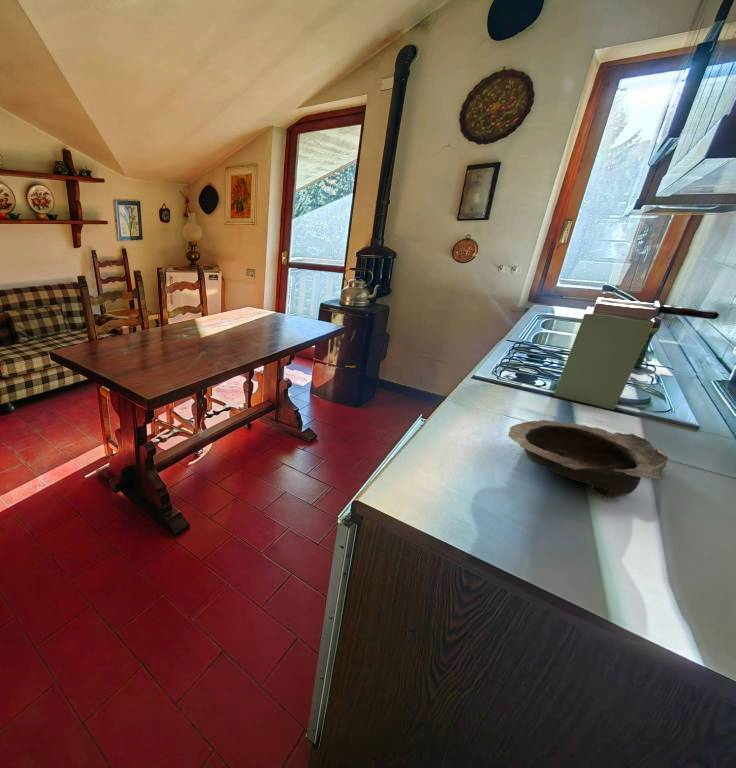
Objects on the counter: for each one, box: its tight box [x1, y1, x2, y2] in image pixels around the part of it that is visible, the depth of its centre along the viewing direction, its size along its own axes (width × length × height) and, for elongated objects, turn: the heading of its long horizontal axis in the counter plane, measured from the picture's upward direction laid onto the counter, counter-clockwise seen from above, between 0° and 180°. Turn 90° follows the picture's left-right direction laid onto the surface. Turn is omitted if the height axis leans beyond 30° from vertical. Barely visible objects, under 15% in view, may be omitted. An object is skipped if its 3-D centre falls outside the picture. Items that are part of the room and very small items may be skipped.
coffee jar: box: [634, 316, 662, 368], centre depth 145 cm, size 10×8×19 cm
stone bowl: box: [507, 419, 669, 498], centre depth 83 cm, size 25×25×9 cm
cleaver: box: [593, 297, 720, 320], centre depth 105 cm, size 23×10×4 cm, turn 46°
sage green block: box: [552, 306, 655, 411], centre depth 115 cm, size 14×12×26 cm
